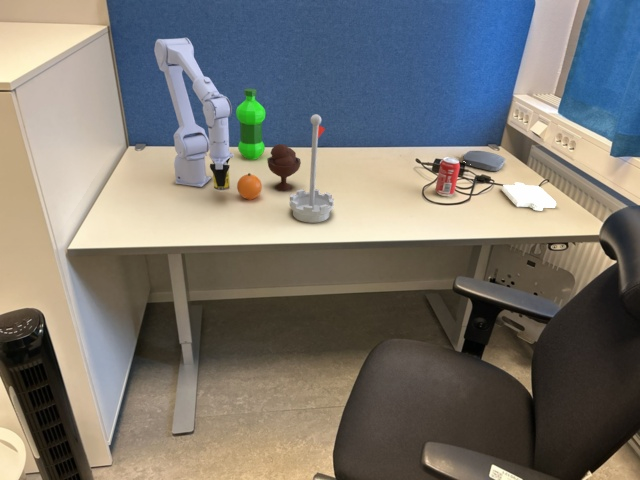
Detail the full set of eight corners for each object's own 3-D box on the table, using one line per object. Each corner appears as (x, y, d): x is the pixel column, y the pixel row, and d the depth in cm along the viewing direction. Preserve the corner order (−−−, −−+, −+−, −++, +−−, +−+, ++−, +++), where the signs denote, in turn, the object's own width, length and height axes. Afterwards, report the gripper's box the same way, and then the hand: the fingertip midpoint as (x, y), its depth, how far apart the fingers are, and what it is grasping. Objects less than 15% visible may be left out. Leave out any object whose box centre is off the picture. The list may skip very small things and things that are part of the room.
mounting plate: (499, 187, 167) (500, 182, 166) (534, 188, 168) (535, 183, 167) (519, 210, 152) (521, 204, 151) (558, 211, 152) (560, 206, 151)
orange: (234, 200, 145) (233, 176, 141) (242, 191, 152) (241, 167, 148) (257, 204, 144) (257, 180, 140) (264, 194, 151) (264, 170, 147)
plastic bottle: (232, 155, 179) (229, 88, 166) (255, 150, 185) (254, 85, 172) (247, 164, 172) (246, 94, 160) (270, 158, 179) (270, 91, 166)
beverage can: (455, 192, 161) (462, 159, 155) (451, 198, 156) (459, 165, 150) (437, 188, 163) (443, 155, 157) (432, 194, 158) (439, 161, 152)
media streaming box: (497, 173, 178) (498, 166, 177) (459, 164, 185) (461, 157, 183) (505, 162, 189) (507, 155, 188) (470, 154, 196) (471, 147, 194)
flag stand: (317, 228, 133) (324, 124, 118) (280, 215, 139) (282, 114, 124) (340, 212, 143) (349, 114, 128) (304, 200, 148) (309, 105, 133)
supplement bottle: (216, 192, 142) (214, 166, 138) (211, 186, 146) (210, 161, 142) (231, 190, 144) (230, 164, 140) (226, 184, 148) (225, 159, 144)
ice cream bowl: (295, 196, 151) (297, 151, 143) (262, 191, 153) (262, 147, 145) (303, 183, 160) (305, 140, 152) (272, 179, 162) (272, 136, 154)
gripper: (232, 148, 132) (234, 192, 139) (233, 132, 144) (234, 173, 151) (206, 148, 131) (209, 192, 138) (209, 132, 143) (212, 173, 150)
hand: (221, 182), depth 144 cm, fingers closed on supplement bottle, 5 cm apart
